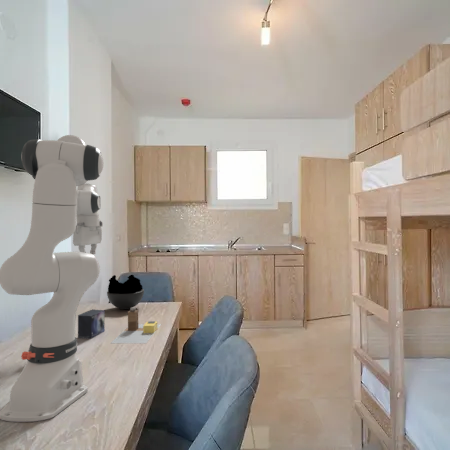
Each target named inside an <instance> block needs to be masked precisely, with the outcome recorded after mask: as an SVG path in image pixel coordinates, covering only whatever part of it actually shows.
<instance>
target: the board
mask: <svg viewBox="0 0 450 450" xmlns="http://www.w3.org/2000/svg"><path fill="white" fill-rule="evenodd" d="M144 324H145V323H144ZM144 324H143V323H141V324H140V323H138V329H137V330H136V331H128V327H126V329H124V330H122V332H121V333H120V334H119V335H118V336H116V338H114V339H113V340H112V341H111V342H110V344H147V343H148V342H149V341H150V339H151V338H152V337H153V336H154V334H156V332H157V331H158V329H159V328H160V327H161V325H162V324H161V323H157V330H156V331H155V332H154V333H143V326H144Z"/></svg>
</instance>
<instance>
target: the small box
mask: <svg viewBox="0 0 450 450" xmlns="http://www.w3.org/2000/svg"><path fill="white" fill-rule="evenodd" d="M105 311H106V310H104V309H103V310H102V309H90V310H88V311H85V312H83V313H81V314H78V315H77V338H78V339H87V340H88V339H90V340H91V339H93V338H96V336H99V335H101V334H102V333H104V332H105V331H106V330H105V327H106V326H105Z"/></svg>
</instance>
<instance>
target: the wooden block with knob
mask: <svg viewBox="0 0 450 450" xmlns="http://www.w3.org/2000/svg"><path fill="white" fill-rule="evenodd" d="M138 324H139V310H138V309H137V308H136V306H134V307H131V308H130V310H129V311H127V328H128V331H136V330H137V329H138Z"/></svg>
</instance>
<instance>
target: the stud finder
mask: <svg viewBox="0 0 450 450" xmlns="http://www.w3.org/2000/svg"><path fill="white" fill-rule="evenodd" d="M157 324H158V321H156V320H155V321H150V320H148V321H146V322H145V323H144V326H143V333H154V332H155V331H156V330H157V331H158V329H157ZM157 331H156V332H157ZM156 332H155V333H156ZM155 333H154V334H155Z"/></svg>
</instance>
